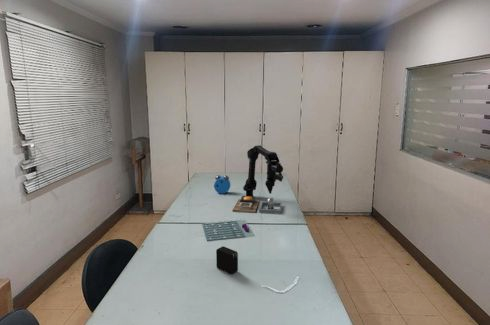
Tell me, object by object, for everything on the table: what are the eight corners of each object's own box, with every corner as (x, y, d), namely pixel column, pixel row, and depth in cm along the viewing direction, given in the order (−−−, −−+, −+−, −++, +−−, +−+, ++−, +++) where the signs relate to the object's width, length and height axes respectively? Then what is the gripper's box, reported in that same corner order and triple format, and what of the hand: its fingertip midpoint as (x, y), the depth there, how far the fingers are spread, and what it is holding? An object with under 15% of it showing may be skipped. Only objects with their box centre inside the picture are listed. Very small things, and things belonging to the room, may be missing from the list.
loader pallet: (238, 200, 255) (238, 195, 254) (259, 201, 252) (259, 196, 251) (232, 211, 232) (232, 205, 231) (255, 212, 229) (255, 207, 228)
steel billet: (267, 208, 239) (268, 197, 237) (273, 208, 238) (274, 197, 236) (267, 210, 234) (267, 199, 233) (273, 210, 234) (273, 199, 232)
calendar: (201, 224, 212) (201, 220, 211) (244, 219, 218) (244, 216, 218) (207, 242, 186) (206, 238, 186) (255, 237, 193) (255, 233, 192)
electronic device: (222, 264, 161) (222, 245, 159) (238, 271, 155) (237, 251, 153) (216, 268, 158) (216, 248, 156) (232, 275, 152) (231, 255, 149)
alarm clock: (230, 192, 276) (230, 174, 273) (229, 194, 270) (229, 176, 267) (215, 191, 277) (214, 174, 274) (214, 193, 271) (213, 176, 268)
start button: (244, 199, 251) (244, 196, 251) (252, 199, 250) (252, 196, 250) (242, 202, 245) (242, 198, 245) (251, 202, 244) (251, 199, 243)
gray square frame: (261, 204, 245) (261, 201, 244) (281, 206, 243) (281, 202, 242) (258, 212, 230) (258, 209, 229) (280, 213, 227) (280, 210, 227)
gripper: (282, 174, 220) (281, 196, 223) (283, 167, 238) (283, 188, 241) (265, 173, 222) (265, 195, 225) (268, 167, 240) (267, 187, 243)
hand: (270, 191), depth 233 cm, fingers open, 8 cm apart
